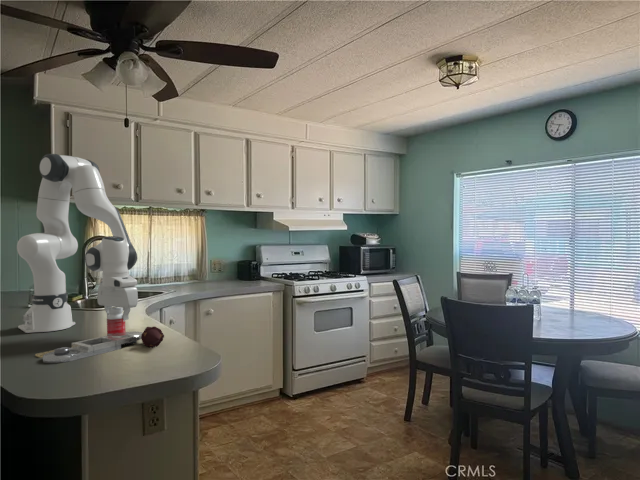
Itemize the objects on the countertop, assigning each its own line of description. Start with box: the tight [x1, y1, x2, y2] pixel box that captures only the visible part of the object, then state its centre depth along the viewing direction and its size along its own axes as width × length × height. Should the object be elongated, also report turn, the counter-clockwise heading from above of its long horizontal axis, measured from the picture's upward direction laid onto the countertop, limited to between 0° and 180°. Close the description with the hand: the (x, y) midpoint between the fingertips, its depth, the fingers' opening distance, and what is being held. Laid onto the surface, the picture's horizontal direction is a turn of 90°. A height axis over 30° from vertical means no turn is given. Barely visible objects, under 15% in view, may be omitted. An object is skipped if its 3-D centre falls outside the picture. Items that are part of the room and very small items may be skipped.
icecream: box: [140, 326, 165, 348], centre depth 152 cm, size 7×7×15 cm
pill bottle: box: [106, 307, 127, 336], centre depth 164 cm, size 6×6×11 cm
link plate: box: [34, 349, 55, 359], centre depth 145 cm, size 8×3×1 cm, turn 145°
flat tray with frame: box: [42, 331, 143, 364], centre depth 148 cm, size 32×10×3 cm, turn 146°
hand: (117, 318), depth 164 cm, fingers open, 8 cm apart
